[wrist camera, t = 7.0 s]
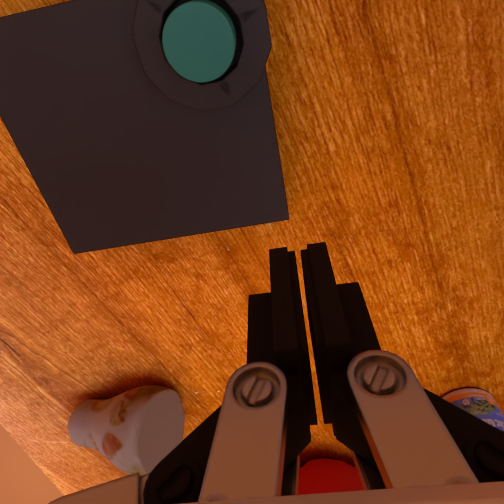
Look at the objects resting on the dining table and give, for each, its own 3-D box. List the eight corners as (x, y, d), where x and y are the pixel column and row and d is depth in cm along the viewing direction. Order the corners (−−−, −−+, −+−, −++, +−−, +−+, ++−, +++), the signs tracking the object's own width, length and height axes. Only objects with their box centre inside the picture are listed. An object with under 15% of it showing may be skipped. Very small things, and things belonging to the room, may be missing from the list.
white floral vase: (56, 384, 37) (51, 460, 28) (160, 344, 40) (185, 401, 31) (83, 447, 39) (86, 535, 30) (179, 405, 42) (207, 474, 33)
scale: (256, -55, 18) (256, -61, 16) (294, 204, 26) (299, 232, 23) (-29, 14, 20) (-78, 20, 17) (83, 238, 28) (63, 269, 25)
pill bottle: (505, 392, 36) (575, 510, 28) (471, 425, 39) (526, 541, 31) (451, 381, 36) (508, 499, 27) (420, 416, 38) (464, 532, 30)
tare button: (228, -8, 17) (226, -7, 16) (242, 68, 18) (241, 75, 17) (159, 7, 17) (151, 10, 16) (179, 81, 19) (174, 89, 18)
